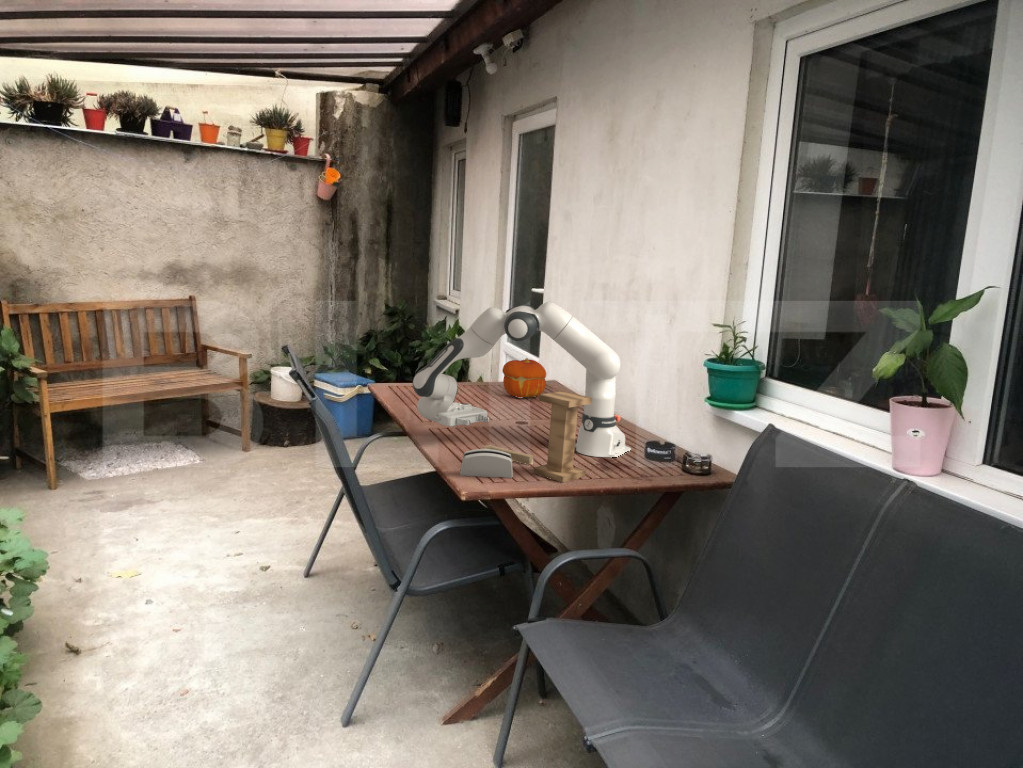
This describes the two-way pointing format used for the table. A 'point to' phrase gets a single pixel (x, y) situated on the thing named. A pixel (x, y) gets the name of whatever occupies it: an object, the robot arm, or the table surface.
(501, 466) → the grey arched block
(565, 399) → the stand
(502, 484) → the table surface
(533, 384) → the pumpkin
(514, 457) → the batten
